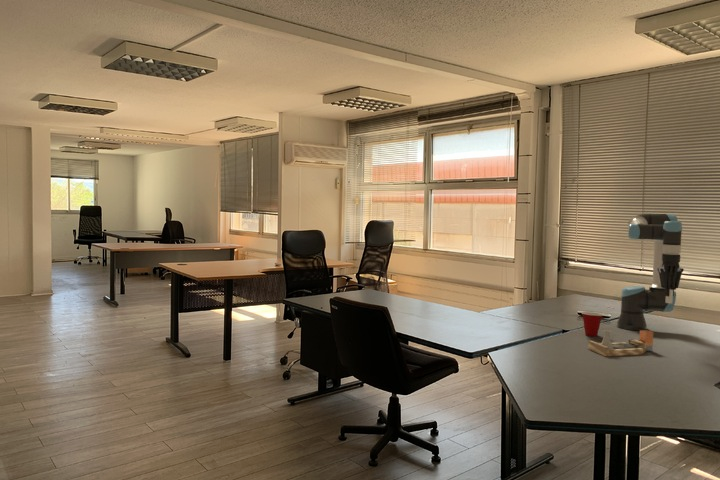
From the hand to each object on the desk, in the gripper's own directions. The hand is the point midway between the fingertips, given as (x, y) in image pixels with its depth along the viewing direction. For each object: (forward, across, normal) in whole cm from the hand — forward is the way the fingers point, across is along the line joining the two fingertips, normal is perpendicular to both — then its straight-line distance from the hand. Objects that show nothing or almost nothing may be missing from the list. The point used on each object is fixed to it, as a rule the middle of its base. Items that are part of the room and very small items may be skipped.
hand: (668, 302), depth 259 cm
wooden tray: (+22, +28, 0) cm, 35 cm away
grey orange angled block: (+22, +20, 0) cm, 30 cm away
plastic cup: (+23, +18, -32) cm, 43 cm away
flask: (+23, +33, 0) cm, 40 cm away
